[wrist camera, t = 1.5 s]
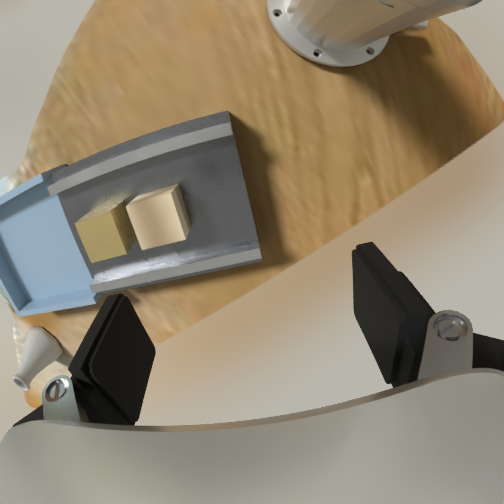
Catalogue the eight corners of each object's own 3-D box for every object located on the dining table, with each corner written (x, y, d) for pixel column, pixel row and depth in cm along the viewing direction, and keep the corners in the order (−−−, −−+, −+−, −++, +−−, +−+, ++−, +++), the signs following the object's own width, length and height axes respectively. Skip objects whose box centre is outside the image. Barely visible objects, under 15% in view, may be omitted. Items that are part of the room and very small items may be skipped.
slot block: (229, 111, 25) (226, 110, 20) (260, 243, 31) (263, 267, 27) (70, 166, 26) (44, 177, 22) (112, 276, 32) (96, 301, 28)
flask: (70, 353, 39) (47, 399, 30) (48, 360, 40) (26, 401, 31) (42, 320, 35) (12, 364, 27) (22, 330, 37) (-5, 370, 28)
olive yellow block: (122, 200, 24) (110, 211, 22) (137, 239, 26) (127, 253, 23) (88, 212, 25) (74, 223, 22) (103, 248, 26) (91, 263, 24)
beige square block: (178, 183, 24) (170, 192, 21) (191, 225, 26) (185, 239, 23) (137, 195, 24) (125, 206, 22) (151, 236, 26) (142, 250, 23)
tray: (65, 163, 26) (40, 173, 22) (111, 280, 33) (96, 303, 28) (-7, 204, 27) (-30, 217, 22) (34, 297, 33) (18, 316, 29)
